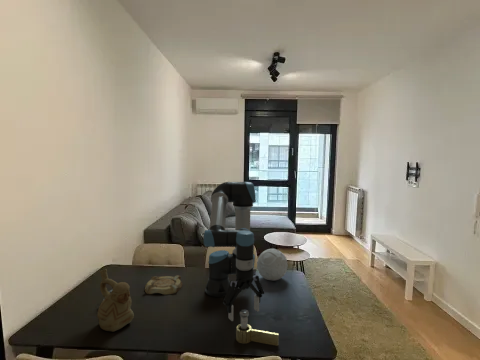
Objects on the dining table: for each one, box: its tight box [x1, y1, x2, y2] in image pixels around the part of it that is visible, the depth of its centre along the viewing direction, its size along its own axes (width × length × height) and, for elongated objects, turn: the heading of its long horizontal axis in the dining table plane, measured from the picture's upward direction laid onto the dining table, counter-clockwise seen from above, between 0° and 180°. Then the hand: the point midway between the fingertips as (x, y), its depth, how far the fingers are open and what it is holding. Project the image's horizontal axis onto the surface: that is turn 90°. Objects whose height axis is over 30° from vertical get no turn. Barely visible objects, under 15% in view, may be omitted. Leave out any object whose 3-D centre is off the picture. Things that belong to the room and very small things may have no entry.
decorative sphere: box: [256, 248, 289, 282], centre depth 195 cm, size 20×20×20 cm
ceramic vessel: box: [96, 268, 135, 333], centre depth 141 cm, size 17×20×25 cm
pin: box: [239, 309, 250, 331], centre depth 131 cm, size 4×4×12 cm
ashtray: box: [144, 274, 183, 296], centre depth 182 cm, size 24×24×5 cm
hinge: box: [235, 323, 279, 347], centre depth 134 cm, size 21×18×5 cm
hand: (244, 314), depth 131 cm, fingers open, 13 cm apart
